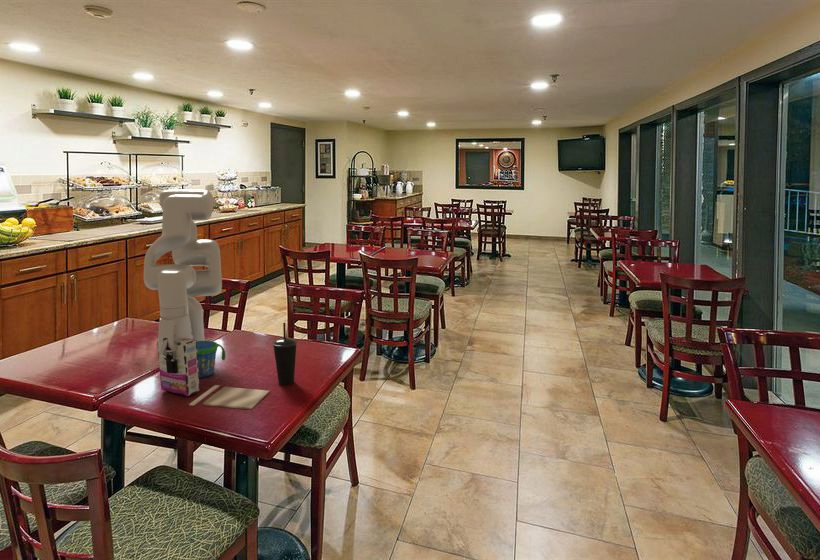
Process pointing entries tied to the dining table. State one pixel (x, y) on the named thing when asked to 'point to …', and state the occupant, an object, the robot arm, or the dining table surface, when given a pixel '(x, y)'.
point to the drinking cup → (285, 358)
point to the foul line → (204, 395)
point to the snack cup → (207, 357)
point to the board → (236, 398)
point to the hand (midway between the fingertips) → (178, 368)
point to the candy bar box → (181, 370)
